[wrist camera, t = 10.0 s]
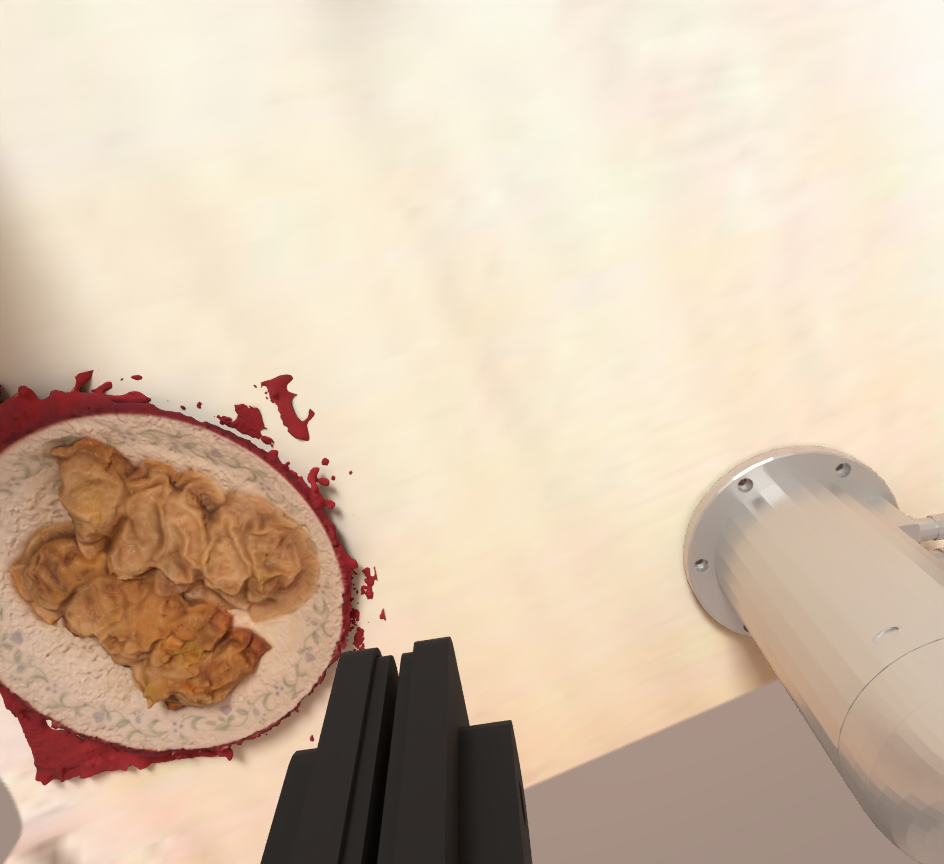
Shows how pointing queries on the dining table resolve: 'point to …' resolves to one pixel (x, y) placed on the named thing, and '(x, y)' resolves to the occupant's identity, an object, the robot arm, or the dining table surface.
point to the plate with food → (159, 579)
